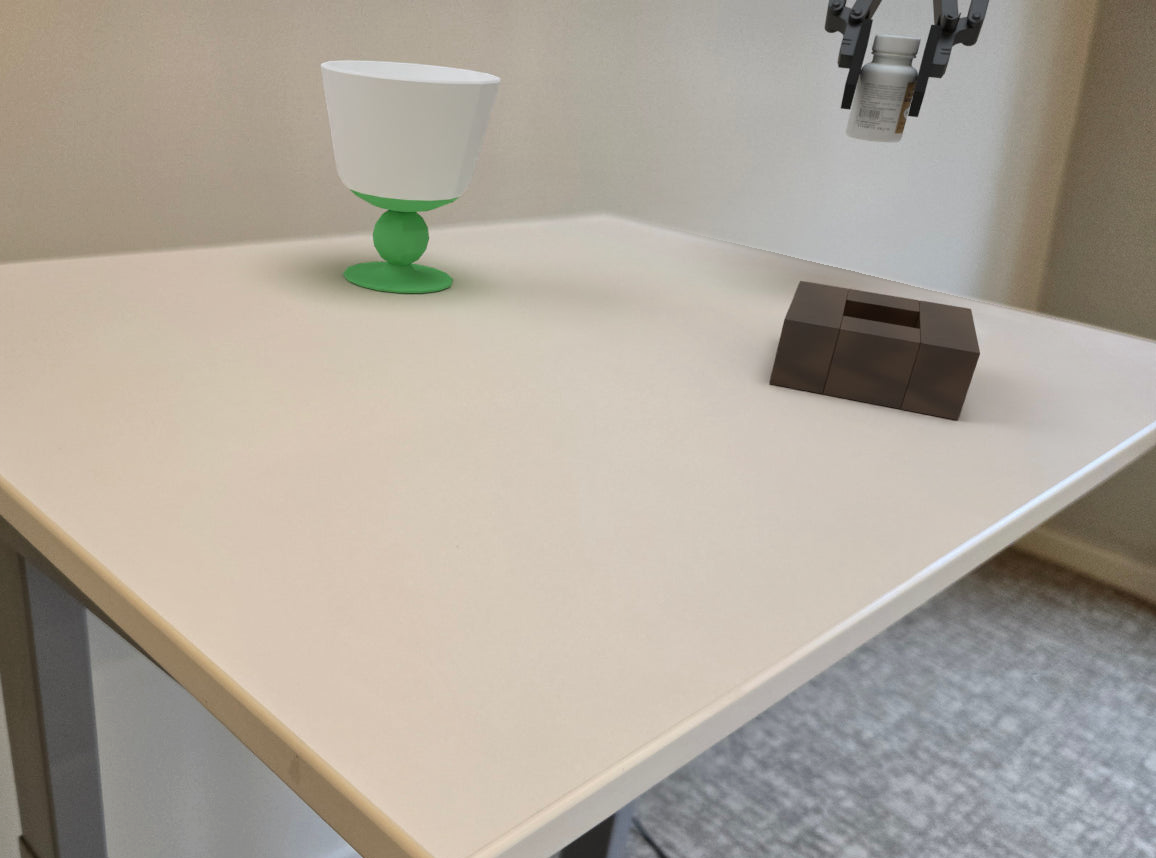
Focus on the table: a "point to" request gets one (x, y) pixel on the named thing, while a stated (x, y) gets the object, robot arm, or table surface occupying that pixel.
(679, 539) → the table surface
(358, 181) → the cup
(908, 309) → the holder
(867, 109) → the pill bottle
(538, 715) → the table surface
